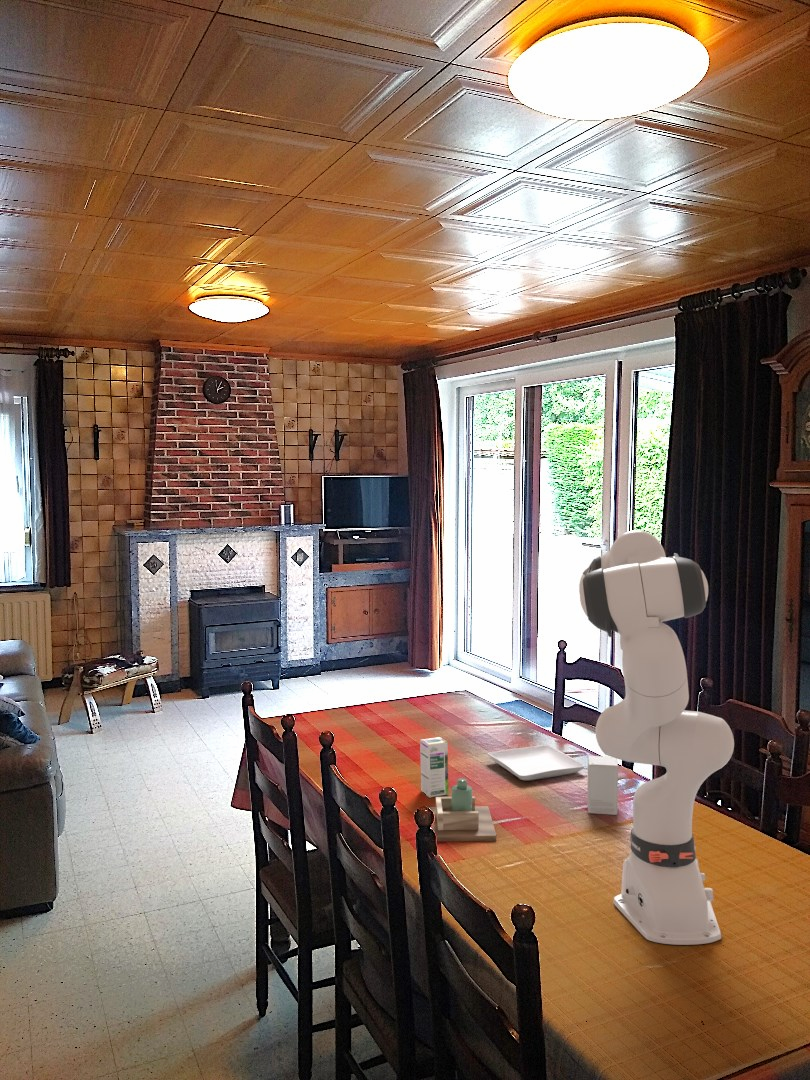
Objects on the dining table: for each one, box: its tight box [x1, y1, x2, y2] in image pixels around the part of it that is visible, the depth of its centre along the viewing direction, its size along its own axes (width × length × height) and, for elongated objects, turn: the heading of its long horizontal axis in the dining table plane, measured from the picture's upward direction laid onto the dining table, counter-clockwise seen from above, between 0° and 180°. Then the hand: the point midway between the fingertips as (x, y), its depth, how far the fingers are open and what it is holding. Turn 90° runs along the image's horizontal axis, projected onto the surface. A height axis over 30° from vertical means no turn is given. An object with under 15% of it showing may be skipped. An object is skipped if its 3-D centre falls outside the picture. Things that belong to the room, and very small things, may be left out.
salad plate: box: [487, 744, 586, 781], centre depth 251 cm, size 21×21×3 cm
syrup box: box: [419, 736, 450, 799], centre depth 232 cm, size 6×6×14 cm
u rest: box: [426, 795, 497, 842], centre depth 210 cm, size 18×16×5 cm
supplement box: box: [586, 755, 619, 816], centre depth 219 cm, size 7×7×13 cm
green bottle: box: [450, 778, 473, 811], centre depth 210 cm, size 5×5×10 cm
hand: (638, 677), depth 203 cm, fingers open, 8 cm apart
